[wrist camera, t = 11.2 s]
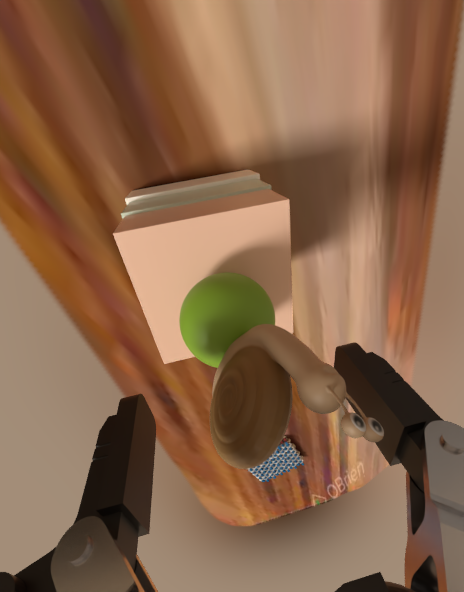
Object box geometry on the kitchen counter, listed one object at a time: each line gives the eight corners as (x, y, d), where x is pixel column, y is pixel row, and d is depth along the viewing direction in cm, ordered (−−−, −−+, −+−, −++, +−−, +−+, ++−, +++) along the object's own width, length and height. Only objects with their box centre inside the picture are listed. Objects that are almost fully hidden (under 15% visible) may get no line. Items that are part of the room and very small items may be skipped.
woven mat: (285, 430, 49) (289, 441, 48) (303, 454, 55) (307, 464, 53) (236, 454, 50) (239, 465, 49) (259, 475, 56) (261, 485, 54)
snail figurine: (283, 266, 17) (443, 446, 7) (234, 338, 19) (300, 554, 9) (210, 228, 15) (286, 407, 5) (164, 314, 17) (150, 559, 7)
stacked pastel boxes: (131, 190, 24) (99, 226, 14) (248, 169, 25) (297, 188, 15) (165, 292, 30) (159, 370, 20) (258, 272, 31) (299, 336, 21)
